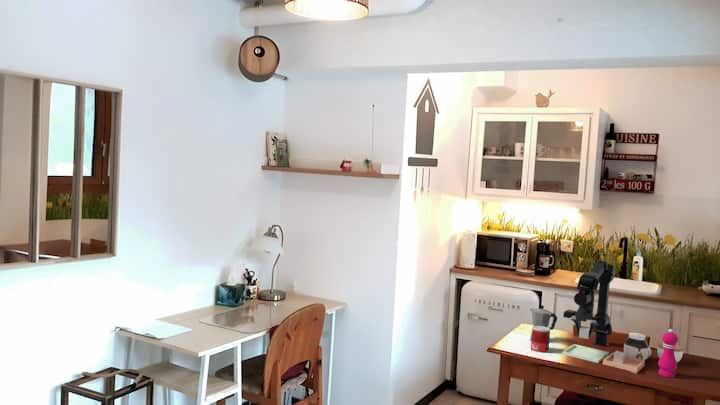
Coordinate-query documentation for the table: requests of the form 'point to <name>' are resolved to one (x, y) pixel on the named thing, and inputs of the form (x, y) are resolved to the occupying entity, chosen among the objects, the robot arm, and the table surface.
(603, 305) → the robot arm
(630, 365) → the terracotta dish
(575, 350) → the green tray
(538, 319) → the coffeepot
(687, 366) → the table surface
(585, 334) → the grey cube
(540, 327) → the canned food
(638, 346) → the spread jar
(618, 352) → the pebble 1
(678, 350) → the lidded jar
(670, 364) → the pepper mill
